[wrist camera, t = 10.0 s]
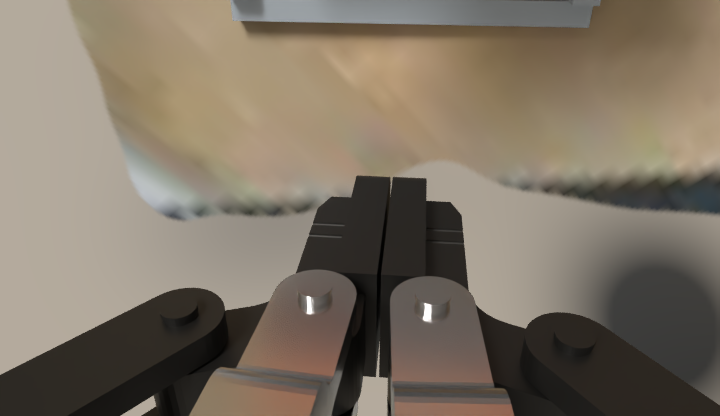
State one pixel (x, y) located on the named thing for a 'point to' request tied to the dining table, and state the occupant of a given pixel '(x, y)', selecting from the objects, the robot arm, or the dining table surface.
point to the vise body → (421, 12)
